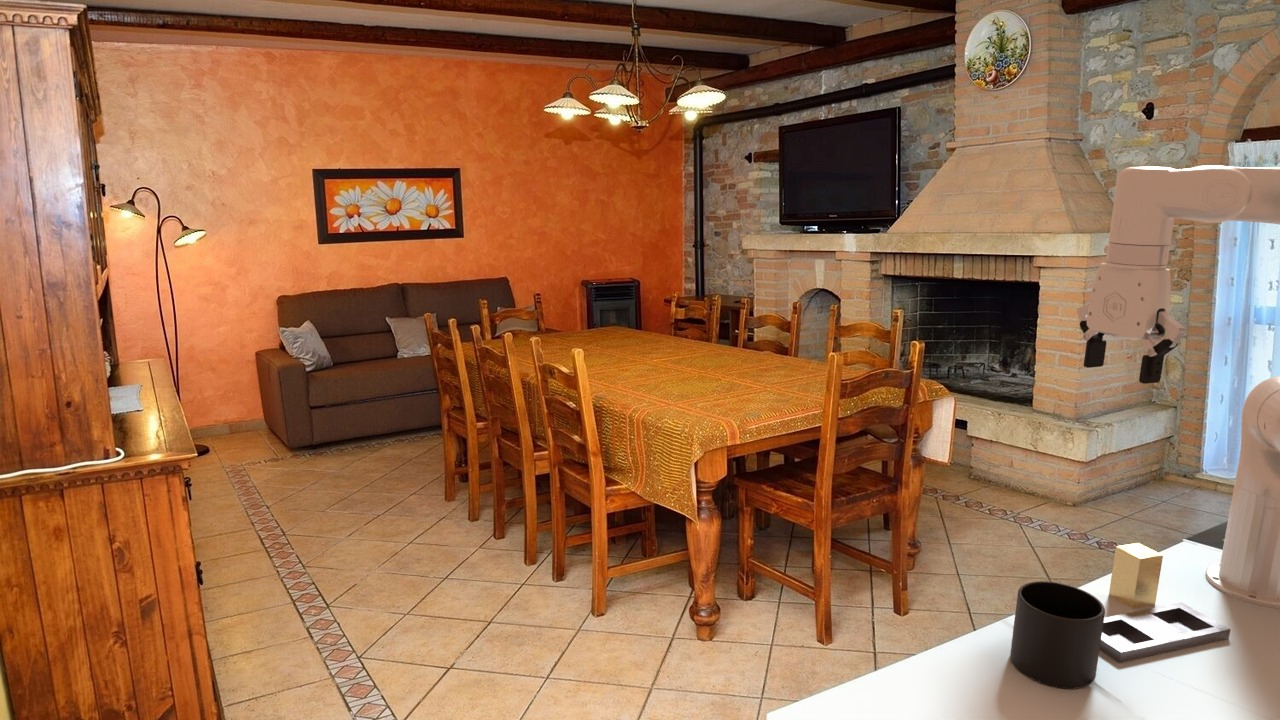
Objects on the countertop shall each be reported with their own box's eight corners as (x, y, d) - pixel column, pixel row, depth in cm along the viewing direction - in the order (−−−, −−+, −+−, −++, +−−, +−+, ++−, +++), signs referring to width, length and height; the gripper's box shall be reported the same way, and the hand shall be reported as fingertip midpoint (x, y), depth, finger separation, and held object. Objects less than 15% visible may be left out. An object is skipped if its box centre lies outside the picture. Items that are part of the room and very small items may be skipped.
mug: (1129, 675, 101) (1139, 607, 99) (1053, 697, 97) (1063, 626, 95) (1065, 635, 110) (1073, 572, 108) (993, 653, 105) (1000, 588, 103)
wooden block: (1130, 594, 120) (1138, 542, 119) (1154, 607, 117) (1163, 555, 115) (1108, 598, 119) (1116, 546, 117) (1132, 612, 115) (1140, 558, 114)
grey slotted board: (1179, 615, 115) (1181, 602, 114) (1227, 642, 108) (1230, 629, 108) (1074, 637, 109) (1076, 623, 109) (1118, 667, 103) (1121, 652, 102)
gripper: (1067, 251, 125) (1054, 362, 129) (1171, 264, 109) (1152, 391, 113) (1107, 249, 127) (1092, 359, 131) (1214, 262, 111) (1194, 387, 115)
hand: (1120, 374), depth 122 cm, fingers open, 9 cm apart
